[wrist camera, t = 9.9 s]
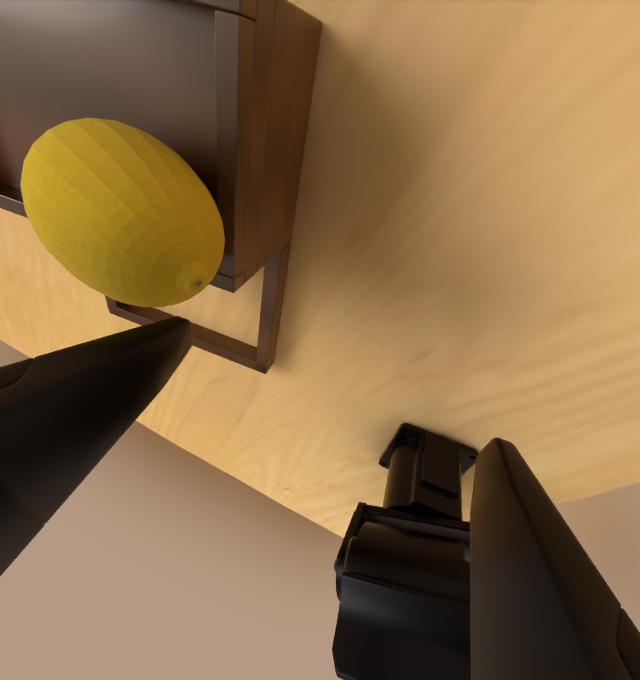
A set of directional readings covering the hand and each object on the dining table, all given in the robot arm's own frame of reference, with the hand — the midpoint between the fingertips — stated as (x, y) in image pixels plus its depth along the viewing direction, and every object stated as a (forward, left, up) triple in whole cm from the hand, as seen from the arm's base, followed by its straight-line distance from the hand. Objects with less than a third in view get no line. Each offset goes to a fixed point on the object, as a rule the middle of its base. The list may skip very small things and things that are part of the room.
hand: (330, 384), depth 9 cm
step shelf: (-2, +13, -12) cm, 18 cm away
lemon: (+2, +13, -4) cm, 14 cm away
